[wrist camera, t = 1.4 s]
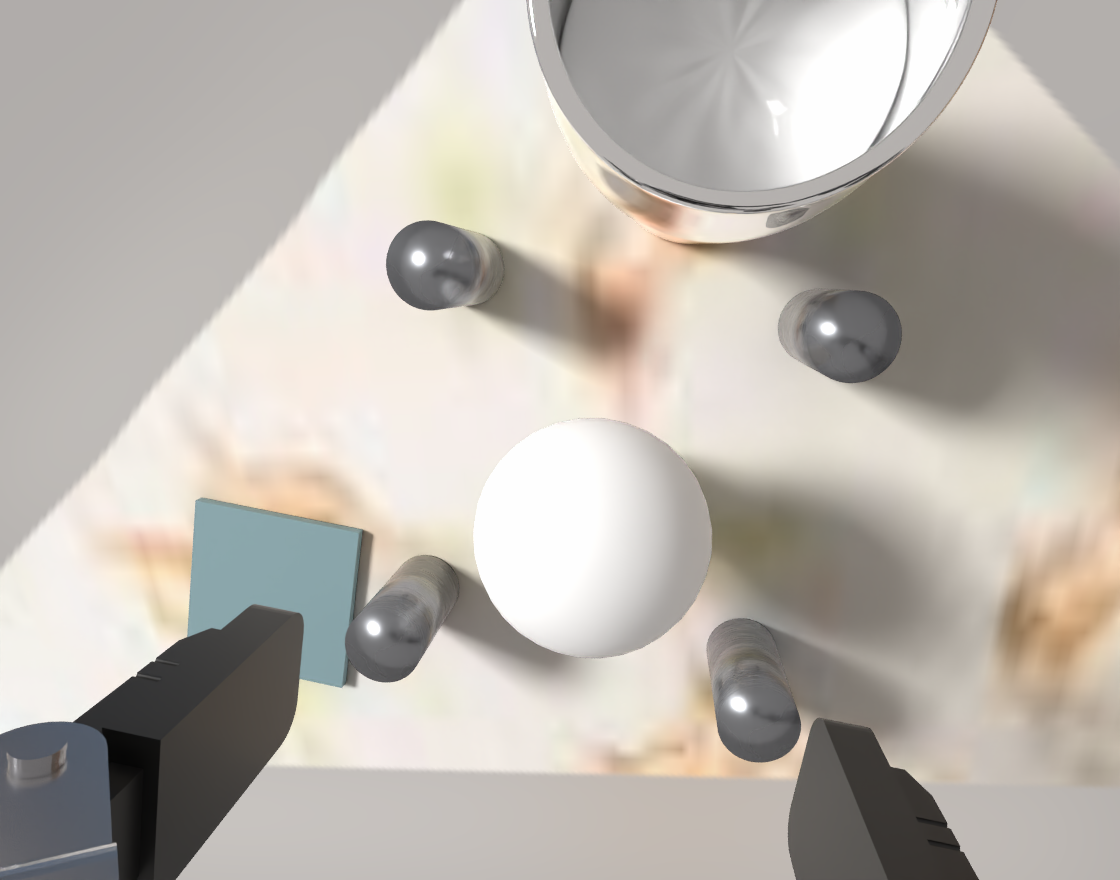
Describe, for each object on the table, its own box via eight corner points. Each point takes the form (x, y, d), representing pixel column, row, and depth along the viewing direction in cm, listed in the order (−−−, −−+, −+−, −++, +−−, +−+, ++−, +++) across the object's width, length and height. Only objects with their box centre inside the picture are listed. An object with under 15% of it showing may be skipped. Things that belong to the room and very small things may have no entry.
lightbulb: (497, 496, 29) (403, 626, 18) (572, 349, 27) (519, 394, 16) (644, 574, 28) (638, 751, 18) (727, 430, 27) (775, 529, 16)
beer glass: (556, 99, 26) (426, -143, 11) (755, -9, 24) (911, -451, 10) (644, 293, 26) (633, 308, 12) (841, 199, 25) (1101, 85, 11)
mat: (362, 529, 29) (358, 533, 29) (345, 682, 31) (341, 687, 30) (201, 497, 30) (195, 500, 30) (192, 649, 31) (186, 654, 31)
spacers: (862, 295, 26) (912, 299, 21) (767, 687, 29) (790, 770, 24) (438, 226, 27) (391, 214, 22) (391, 609, 30) (341, 673, 25)
